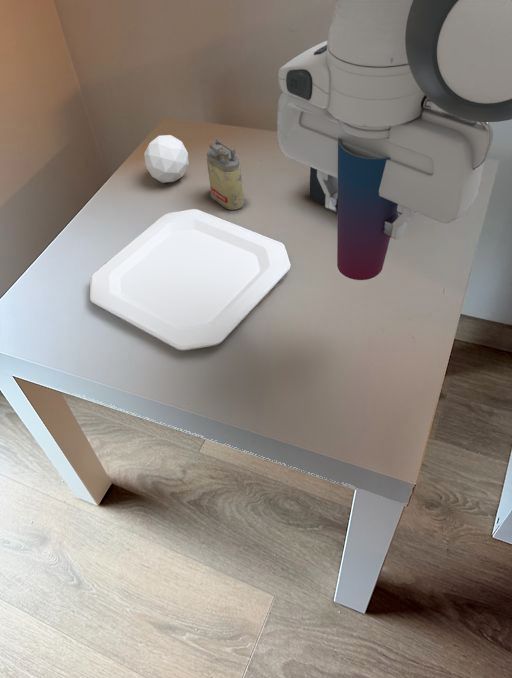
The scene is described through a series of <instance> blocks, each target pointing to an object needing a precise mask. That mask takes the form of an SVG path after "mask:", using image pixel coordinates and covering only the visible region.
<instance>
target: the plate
mask: <svg viewBox="0 0 512 678" xmlns="http://www.w3.org/2000/svg"><path fill="white" fill-rule="evenodd" d="M291 266H292V265H291V261H290V258H289V254H288V252H287V248H286V246H285V244H283V243H282V242H281V241H278V240H276V239H273V238H270V237H268V236H265V235H264V234H260V233H259V232H255V231H254V230H250V229H248V228H245V227H243V226H241V225H238V224H236V223H233V222H230V221H229V220H228V221H227V220H225V219H223V218H220V217H218V216H216V215H214V214H213V215H212V214H210V213H207V212H205V211H203V210H200V209H197V208H191V209H185V210H181V211H179V210H178V211H174V212H173V211H172V212H167V213H165V214H163V215H162V216H161V217H159V218H158V219H157V220H156V221H155V222H153V223H152V224H151V225H150V226H149V227H147V228H146V229H144V231H142V232H141V233H140V234H139V235H138V236H136V238H134V239H133V240H132V241H130V242H129V243H128V244H126V246H124V248H122V249H121V250H120V251H119V252H118V253H116V254H115V255H114V256H112V257H111V258H110V259H109V260H108V261H107V262H106V263H104V264H103V265H101V267H99V268H98V269H97V270H96V271H95V272H94V273H92V274H91V276H90V277H89V278H90V281H89V283H90V285H89V300H90V302H91V303H92V304H95V305H96V306H97V307H99V308H101V309H103V310H105V311H107V312H108V313H110V314H112V315H114V316H116V317H118V318H120V319H121V320H123V321H125V322H126V323H128V324H131V325H132V326H134V327H136V328H138V329H139V330H141V331H143V332H145V333H146V334H148V335H150V336H151V337H154V338H155V339H158V340H160V341H162V342H163V343H165V344H167V345H169V346H171V347H172V348H173V349H176V350H178V351H183V352H184V351H189V350H197V349H201V348H207V347H213V346H218V345H219V344H221V343H223V342H224V341H225V340H226V338H227V337H228V336H229V335H230V334H231V333H232V332H233V331H234V330H236V328H237V327H238V325H240V324H241V322H242V321H243V320H244V319H245V318H246V317H247V316H248V315H249V314H250V313H251V312H252V310H254V309H255V307H256V306H257V305H258V304H259V303H260V302H261V301H263V299H264V298H265V297H266V296H267V295H268V294H269V293H270V292H271V291H272V289H274V287H275V286H276V285H277V284H278V283H279V282H280V281H281V280H282V279H283V278H284V277H285V275H287V273H288V272H289V271H290V270H291Z"/></svg>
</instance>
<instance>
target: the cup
mask: <svg viewBox="0 0 512 678" xmlns="http://www.w3.org/2000/svg"><path fill="white" fill-rule="evenodd" d="M389 159H390V157H383V158H369V157H363V156H358V155H356V154H353V153H351V152H349V151H348V150H346V149H345V147H344V146H343V144H342V140H341V139H340V138H339V137H338V212H337V218H336V219H337V220H336V221H337V231H336V232H337V235H336V236H337V237H336V240H337V243H336V244H337V245H336V249H337V253H336V255H337V257H336V267H337V269H338V271H339V273H340V274H341V275H343V276H344V277H346V278H348V279H351V280H355V281H367V280H372V279H373V278H376V277H377V276H378V275H380V273H382V271H383V268H384V265H385V259H386V257H387V253H388V248H389V244H390V241H391V237H389V236H387V235H385V234H383V230H385V228H384V224H385V221H386V220H387V219H388V218H390V217H392V216H393V215H394V214H395V213H397V206H398V204H397V203H394V202H392V201H390V200H387V199H385V198H383V197H380V196H379V188H380V184H381V180H382V176H383V172H384V168H385V164H386V160H389Z"/></svg>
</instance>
